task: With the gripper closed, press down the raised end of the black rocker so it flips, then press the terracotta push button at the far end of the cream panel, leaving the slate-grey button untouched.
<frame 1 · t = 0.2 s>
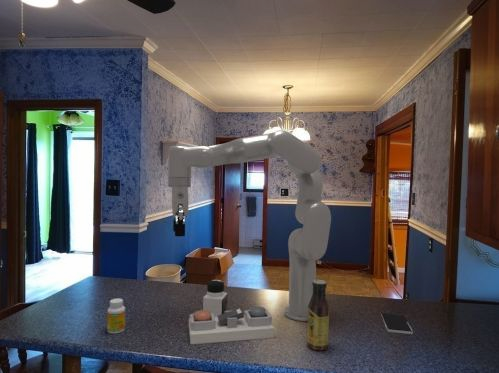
hand: (178, 233, 120), 31 cm above the kitchen counter, tool pointing down, fingers open, 9 cm apart
switch panel: (230, 332, 115), on the kitchen counter
slate button: (257, 313, 117), point 6 cm above the kitchen counter, slide at 0.0 cm
smartphone: (395, 325, 124), on the kitchen counter
supplement bottle: (116, 330, 115), on the kitchen counter
terracotta button: (202, 316, 113), point 6 cm above the kitchen counter, slide at 0.0 cm
rocker: (230, 316, 115), point 5 cm above the kitchen counter, hinge at 15.0°
sauce bottle: (317, 347, 106), on the kitchen counter
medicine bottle: (215, 314, 130), on the kitchen counter
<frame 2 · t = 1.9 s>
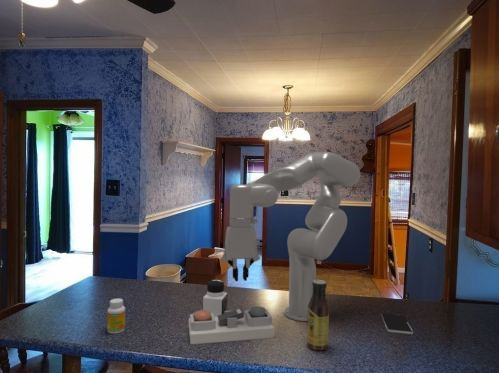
hand: (240, 279, 115), 17 cm above the kitchen counter, tool pointing down, fingers closed
nothing on the kitchen counter moved.
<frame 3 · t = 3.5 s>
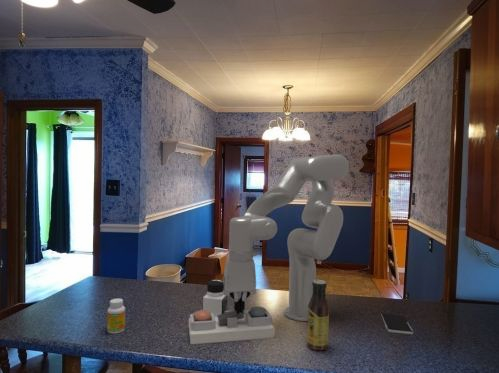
hand: (239, 312, 115), 6 cm above the kitchen counter, tool pointing down, fingers closed
rocker: (230, 316, 115), point 5 cm above the kitchen counter, hinge at 12.8°, touching gripper
everything else where it was.
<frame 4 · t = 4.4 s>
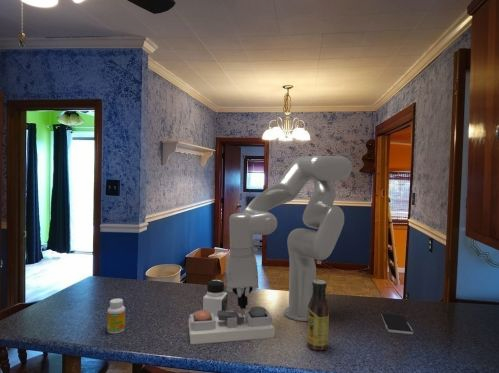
hand: (242, 307, 116), 8 cm above the kitchen counter, tool pointing down, fingers closed
rocker: (230, 316, 115), point 5 cm above the kitchen counter, hinge at -10.3°
everything else where it was.
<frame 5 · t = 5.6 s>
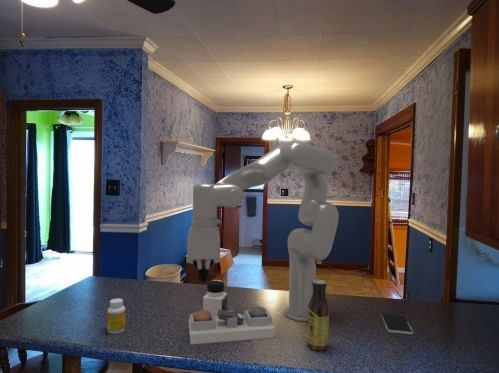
hand: (202, 280, 112), 17 cm above the kitchen counter, tool pointing down, fingers closed
rocker: (230, 316, 115), point 5 cm above the kitchen counter, hinge at -15.0°
everything else where it was.
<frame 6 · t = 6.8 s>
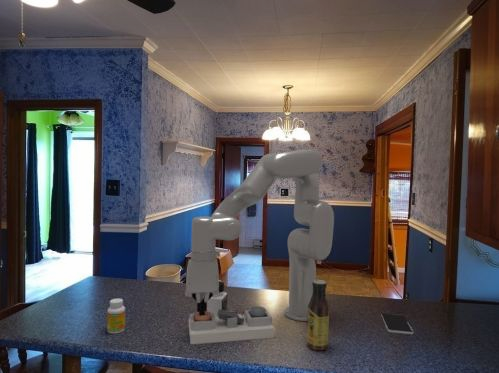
hand: (201, 313, 113), 7 cm above the kitchen counter, tool pointing down, fingers closed
terracotta button: (202, 317, 113), point 5 cm above the kitchen counter, slide at 0.3 cm, touching gripper
rocker: (230, 316, 115), point 5 cm above the kitchen counter, hinge at -16.2°
everything else where it was.
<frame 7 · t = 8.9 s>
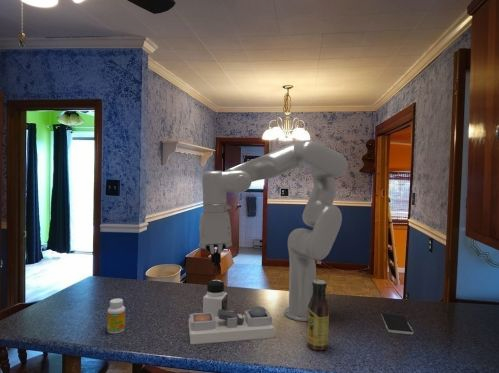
hand: (216, 264, 116), 21 cm above the kitchen counter, tool pointing down, fingers closed
terracotta button: (202, 321, 113), point 4 cm above the kitchen counter, slide at 1.5 cm
rocker: (230, 316, 115), point 5 cm above the kitchen counter, hinge at -16.6°
everything else where it was.
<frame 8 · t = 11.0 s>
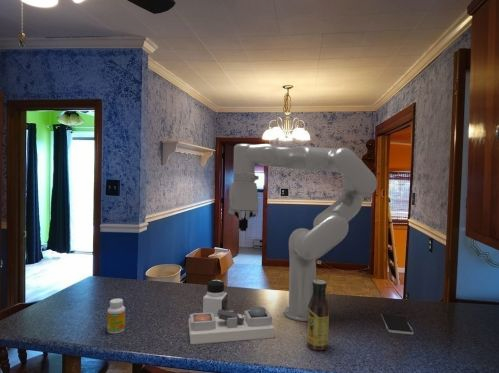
hand: (243, 230, 127), 31 cm above the kitchen counter, tool pointing down, fingers closed
nothing on the kitchen counter moved.
at the end: rocker at -17° (first picture: +15°); terracotta button slide at 1.5 cm; slate button slide at 0.0 cm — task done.
